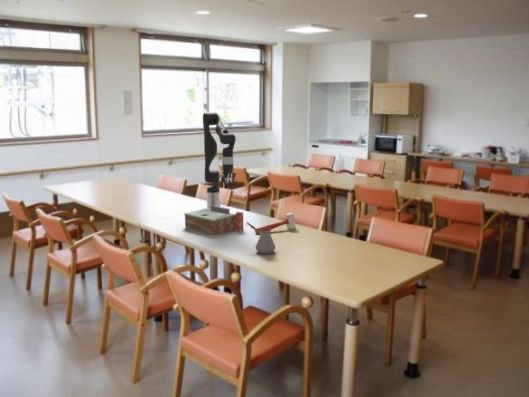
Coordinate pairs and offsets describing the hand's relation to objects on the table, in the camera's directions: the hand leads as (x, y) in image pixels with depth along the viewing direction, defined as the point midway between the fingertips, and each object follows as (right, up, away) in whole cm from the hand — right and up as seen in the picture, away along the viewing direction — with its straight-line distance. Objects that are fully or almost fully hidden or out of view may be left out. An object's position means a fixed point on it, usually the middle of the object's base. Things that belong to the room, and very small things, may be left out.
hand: (228, 188), depth 361 cm
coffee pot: (+22, -37, -56) cm, 71 cm away
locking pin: (+9, -28, -11) cm, 31 cm away
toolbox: (-11, -27, -8) cm, 30 cm away
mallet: (+32, -29, -13) cm, 45 cm away
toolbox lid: (-11, -18, -10) cm, 23 cm away
